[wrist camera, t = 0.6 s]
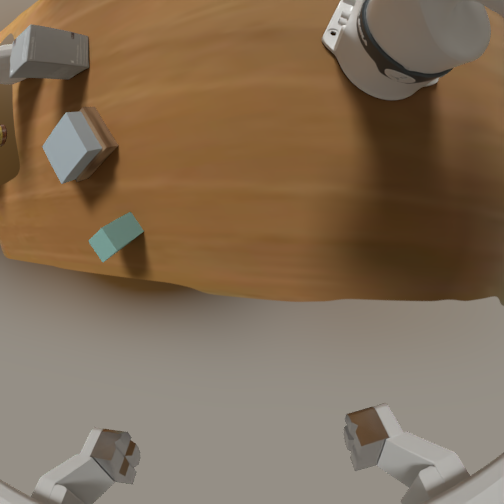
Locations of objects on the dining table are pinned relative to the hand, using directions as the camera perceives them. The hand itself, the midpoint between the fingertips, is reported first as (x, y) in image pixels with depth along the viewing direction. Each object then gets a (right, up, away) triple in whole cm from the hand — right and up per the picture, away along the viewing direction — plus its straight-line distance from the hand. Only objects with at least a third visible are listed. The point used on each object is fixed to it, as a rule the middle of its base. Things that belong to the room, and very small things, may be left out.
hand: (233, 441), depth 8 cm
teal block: (-22, +11, +41) cm, 48 cm away
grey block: (-31, +26, +33) cm, 52 cm away
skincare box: (-34, +45, +29) cm, 64 cm away
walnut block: (-30, +28, +36) cm, 54 cm away
